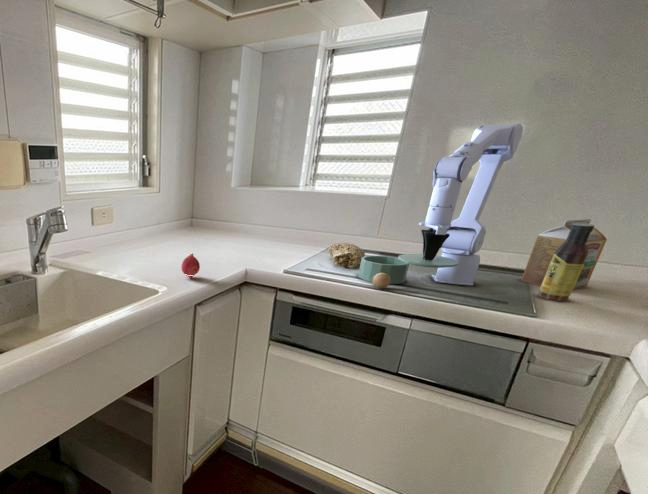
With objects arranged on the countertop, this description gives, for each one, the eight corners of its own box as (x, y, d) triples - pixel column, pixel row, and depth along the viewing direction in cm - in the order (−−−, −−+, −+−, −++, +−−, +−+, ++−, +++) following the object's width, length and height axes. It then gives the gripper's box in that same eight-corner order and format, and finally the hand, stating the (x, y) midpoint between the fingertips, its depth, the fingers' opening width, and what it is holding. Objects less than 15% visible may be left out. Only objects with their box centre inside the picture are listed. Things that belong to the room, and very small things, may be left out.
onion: (184, 280, 126) (185, 255, 123) (178, 276, 132) (179, 252, 129) (201, 279, 128) (203, 254, 125) (195, 274, 133) (196, 250, 130)
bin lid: (451, 260, 114) (456, 243, 112) (463, 271, 103) (468, 253, 101) (395, 255, 120) (398, 239, 118) (400, 266, 108) (404, 248, 106)
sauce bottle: (536, 293, 113) (564, 221, 106) (567, 297, 110) (598, 223, 102) (537, 299, 109) (566, 224, 101) (569, 304, 105) (602, 226, 97)
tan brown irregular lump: (362, 273, 138) (368, 251, 152) (361, 252, 135) (368, 231, 149) (321, 275, 146) (331, 253, 160) (320, 255, 142) (329, 234, 156)
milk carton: (561, 290, 116) (589, 223, 108) (521, 280, 125) (543, 218, 118) (586, 287, 118) (614, 221, 111) (544, 277, 128) (568, 216, 120)
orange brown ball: (388, 286, 120) (391, 271, 118) (389, 291, 116) (393, 275, 114) (370, 285, 121) (373, 270, 120) (371, 289, 118) (374, 274, 116)
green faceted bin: (401, 275, 131) (406, 257, 129) (406, 286, 120) (411, 266, 118) (357, 271, 136) (361, 254, 134) (358, 281, 125) (362, 262, 123)
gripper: (420, 203, 113) (408, 251, 118) (428, 208, 101) (415, 261, 106) (450, 204, 110) (436, 253, 115) (462, 209, 98) (447, 264, 103)
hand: (428, 257), depth 111 cm, fingers closed on bin lid, 2 cm apart
